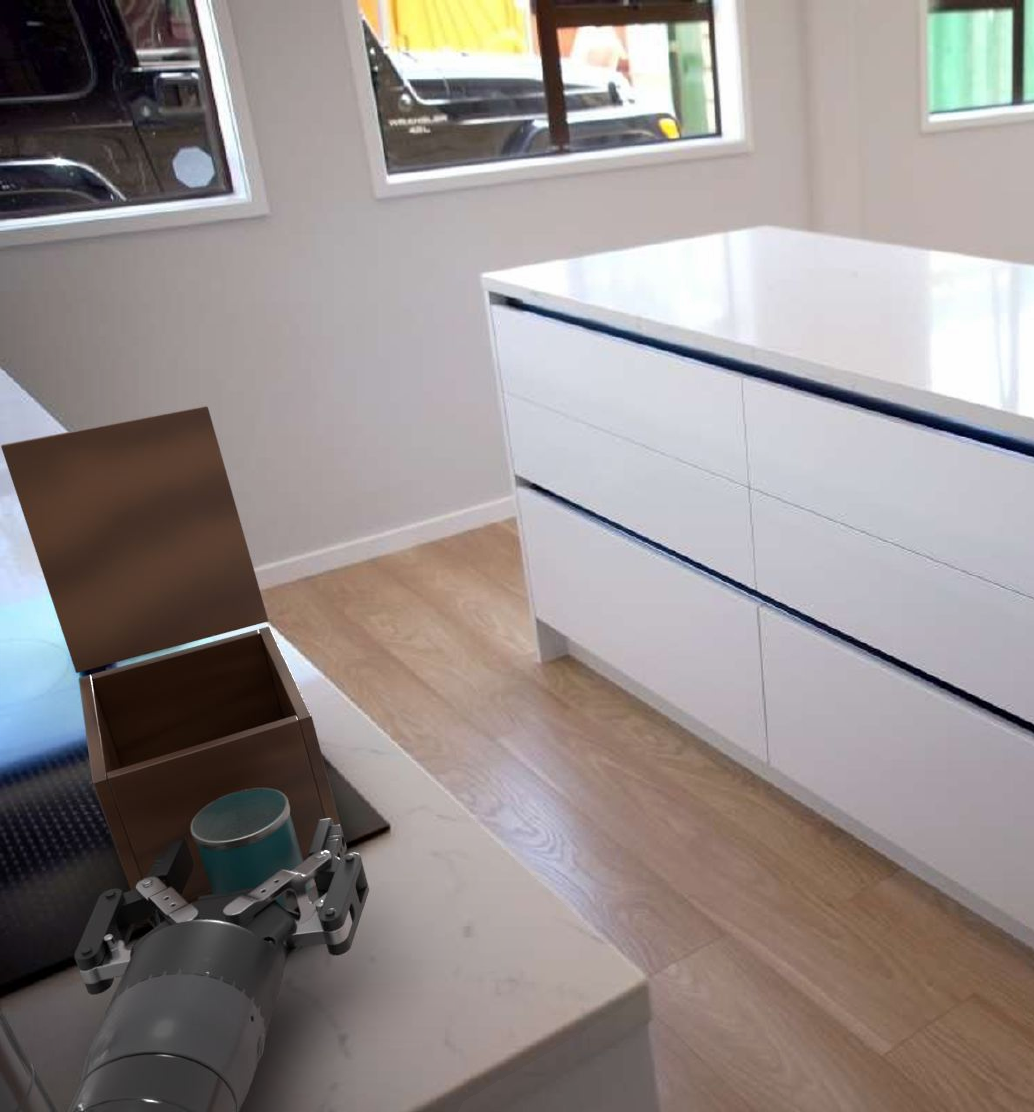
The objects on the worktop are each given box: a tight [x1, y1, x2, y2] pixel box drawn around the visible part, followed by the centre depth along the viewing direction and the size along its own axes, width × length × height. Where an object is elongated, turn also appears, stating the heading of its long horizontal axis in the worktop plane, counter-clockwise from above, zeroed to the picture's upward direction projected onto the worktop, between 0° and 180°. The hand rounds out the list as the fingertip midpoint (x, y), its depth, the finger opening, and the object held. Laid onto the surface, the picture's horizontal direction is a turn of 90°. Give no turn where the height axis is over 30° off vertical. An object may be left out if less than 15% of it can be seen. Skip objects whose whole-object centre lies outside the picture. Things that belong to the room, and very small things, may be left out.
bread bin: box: [78, 625, 348, 925], centre depth 87 cm, size 16×13×11 cm
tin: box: [190, 788, 316, 949], centre depth 77 cm, size 5×5×9 cm
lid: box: [0, 405, 269, 674], centre depth 88 cm, size 16×13×1 cm
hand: (256, 840), depth 77 cm, fingers open, 8 cm apart
